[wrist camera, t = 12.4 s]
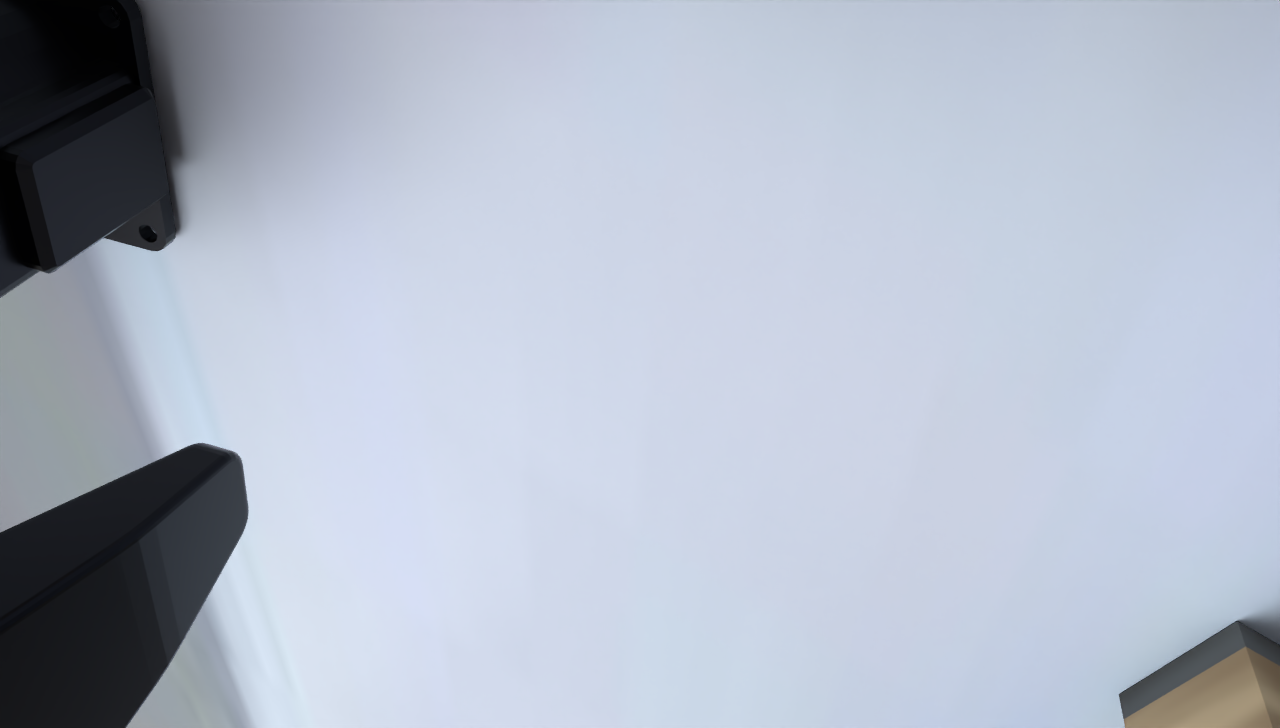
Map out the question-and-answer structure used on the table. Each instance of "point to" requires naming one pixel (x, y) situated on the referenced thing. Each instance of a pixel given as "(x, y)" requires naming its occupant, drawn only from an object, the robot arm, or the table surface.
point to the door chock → (1211, 686)
